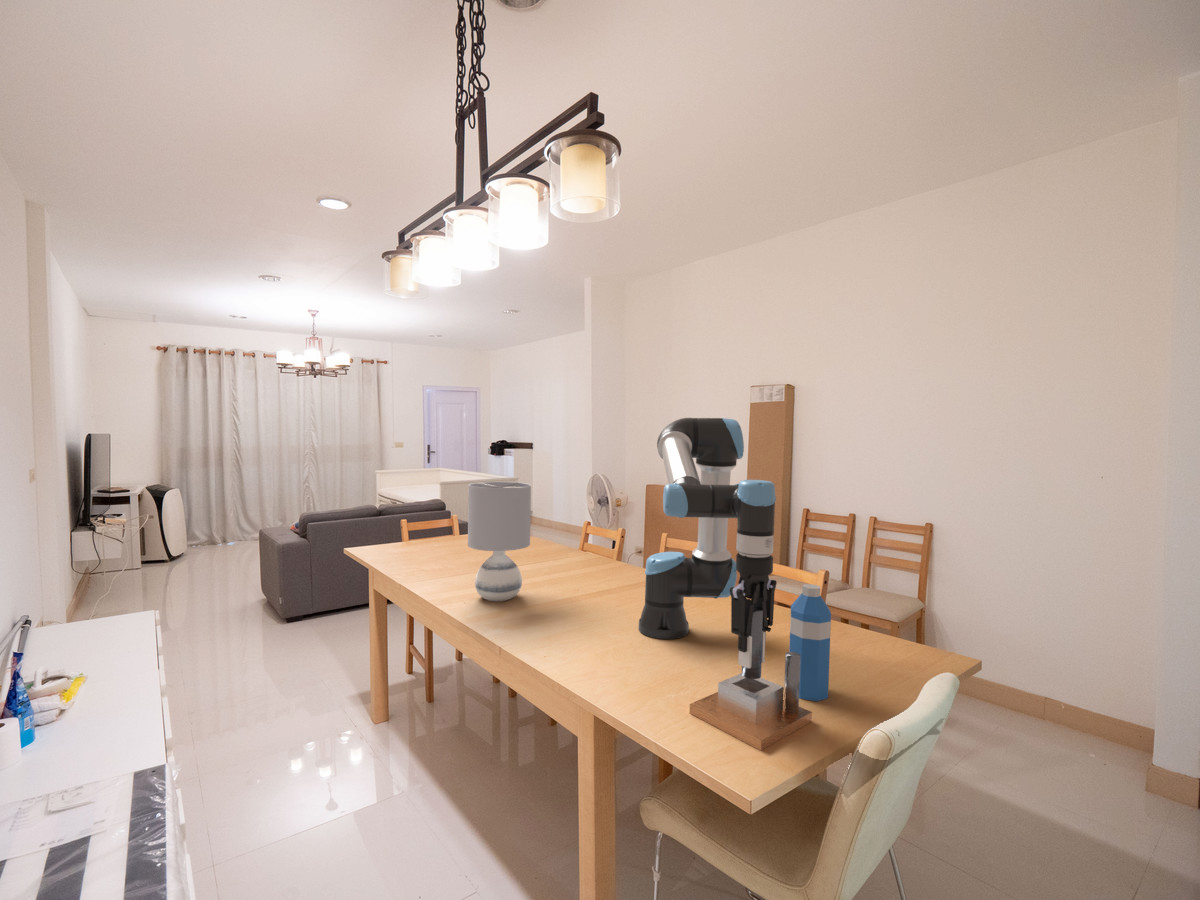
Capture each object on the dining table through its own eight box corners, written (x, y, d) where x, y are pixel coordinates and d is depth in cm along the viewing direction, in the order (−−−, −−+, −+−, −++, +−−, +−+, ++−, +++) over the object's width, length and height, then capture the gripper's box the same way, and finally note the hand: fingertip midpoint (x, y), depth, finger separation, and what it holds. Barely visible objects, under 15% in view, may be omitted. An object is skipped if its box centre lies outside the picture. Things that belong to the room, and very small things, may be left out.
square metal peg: (737, 674, 121) (739, 608, 121) (749, 669, 124) (751, 605, 123) (753, 680, 118) (755, 613, 118) (764, 675, 121) (766, 610, 120)
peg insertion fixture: (689, 713, 123) (691, 648, 122) (741, 690, 134) (742, 631, 133) (760, 750, 109) (763, 678, 108) (811, 721, 120) (813, 655, 120)
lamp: (524, 608, 192) (526, 488, 190) (460, 606, 192) (461, 487, 190) (532, 590, 213) (534, 482, 212) (475, 588, 213) (476, 481, 212)
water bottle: (780, 683, 138) (783, 580, 137) (817, 682, 139) (821, 580, 138) (796, 701, 129) (800, 592, 128) (836, 700, 130) (840, 591, 129)
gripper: (744, 562, 112) (741, 679, 113) (793, 551, 123) (789, 659, 123) (714, 555, 118) (711, 667, 118) (763, 546, 128) (760, 648, 129)
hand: (751, 662), depth 121 cm, fingers closed on square metal peg, 4 cm apart
